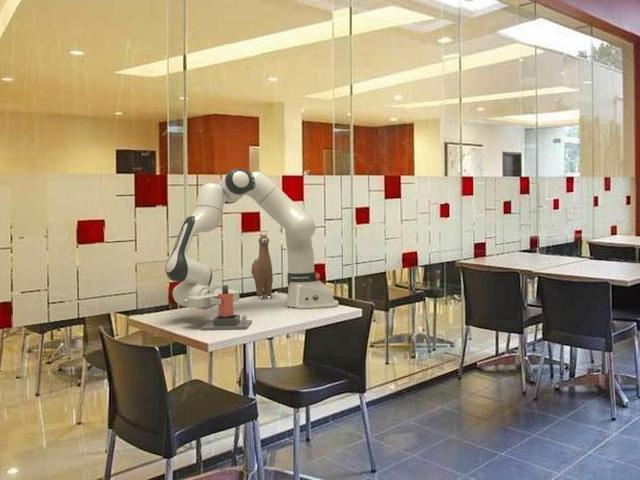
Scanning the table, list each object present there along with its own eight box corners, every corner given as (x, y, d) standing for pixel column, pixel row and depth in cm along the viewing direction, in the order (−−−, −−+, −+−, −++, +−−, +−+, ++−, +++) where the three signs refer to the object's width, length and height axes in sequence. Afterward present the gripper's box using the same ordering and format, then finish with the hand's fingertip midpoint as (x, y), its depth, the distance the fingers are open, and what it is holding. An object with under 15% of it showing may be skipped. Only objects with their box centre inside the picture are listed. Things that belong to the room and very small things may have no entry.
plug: (226, 314, 224) (225, 284, 223) (233, 315, 221) (232, 285, 221) (219, 315, 221) (217, 285, 221) (225, 317, 219) (224, 286, 218)
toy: (257, 301, 277) (255, 234, 275) (251, 295, 297) (249, 233, 295) (276, 299, 279) (274, 234, 277) (270, 293, 299) (267, 232, 297)
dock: (251, 322, 227) (251, 313, 227) (246, 329, 215) (246, 319, 215) (209, 323, 228) (208, 314, 228) (201, 330, 216) (200, 320, 216)
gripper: (180, 292, 222) (203, 295, 213) (224, 286, 237) (248, 288, 227) (180, 309, 222) (203, 313, 213) (225, 302, 237) (248, 305, 228)
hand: (227, 300), depth 220 cm, fingers closed on plug, 4 cm apart
